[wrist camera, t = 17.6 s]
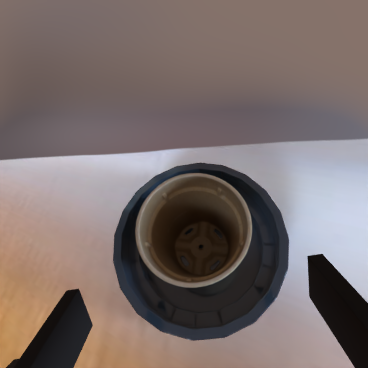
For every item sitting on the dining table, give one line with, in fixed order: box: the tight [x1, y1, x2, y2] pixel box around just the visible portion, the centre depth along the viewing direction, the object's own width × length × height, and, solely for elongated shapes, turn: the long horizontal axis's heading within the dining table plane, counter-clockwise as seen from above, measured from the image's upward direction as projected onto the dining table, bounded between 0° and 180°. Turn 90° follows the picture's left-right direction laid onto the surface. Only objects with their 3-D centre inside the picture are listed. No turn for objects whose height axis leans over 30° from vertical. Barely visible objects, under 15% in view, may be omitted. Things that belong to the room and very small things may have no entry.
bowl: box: [113, 163, 289, 341], centre depth 25 cm, size 17×17×5 cm
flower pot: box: [135, 173, 252, 288], centre depth 23 cm, size 9×9×9 cm
